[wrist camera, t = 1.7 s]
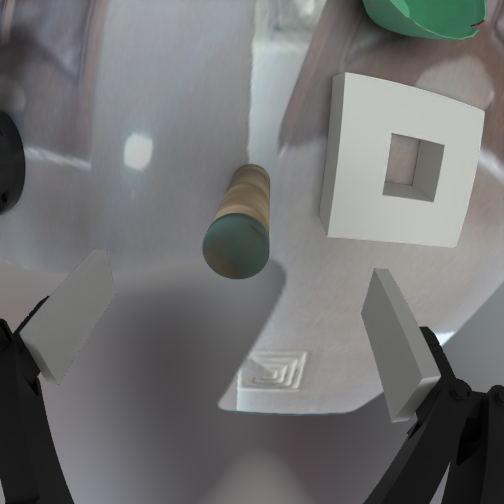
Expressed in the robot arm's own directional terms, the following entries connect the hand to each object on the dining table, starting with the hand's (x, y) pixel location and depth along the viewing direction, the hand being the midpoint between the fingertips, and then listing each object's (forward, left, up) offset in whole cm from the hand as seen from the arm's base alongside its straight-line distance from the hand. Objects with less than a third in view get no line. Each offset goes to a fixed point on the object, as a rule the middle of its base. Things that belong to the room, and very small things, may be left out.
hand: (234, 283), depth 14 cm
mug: (+12, +22, -17) cm, 30 cm away
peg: (0, 0, -17) cm, 17 cm away
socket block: (+14, +4, -17) cm, 22 cm away
